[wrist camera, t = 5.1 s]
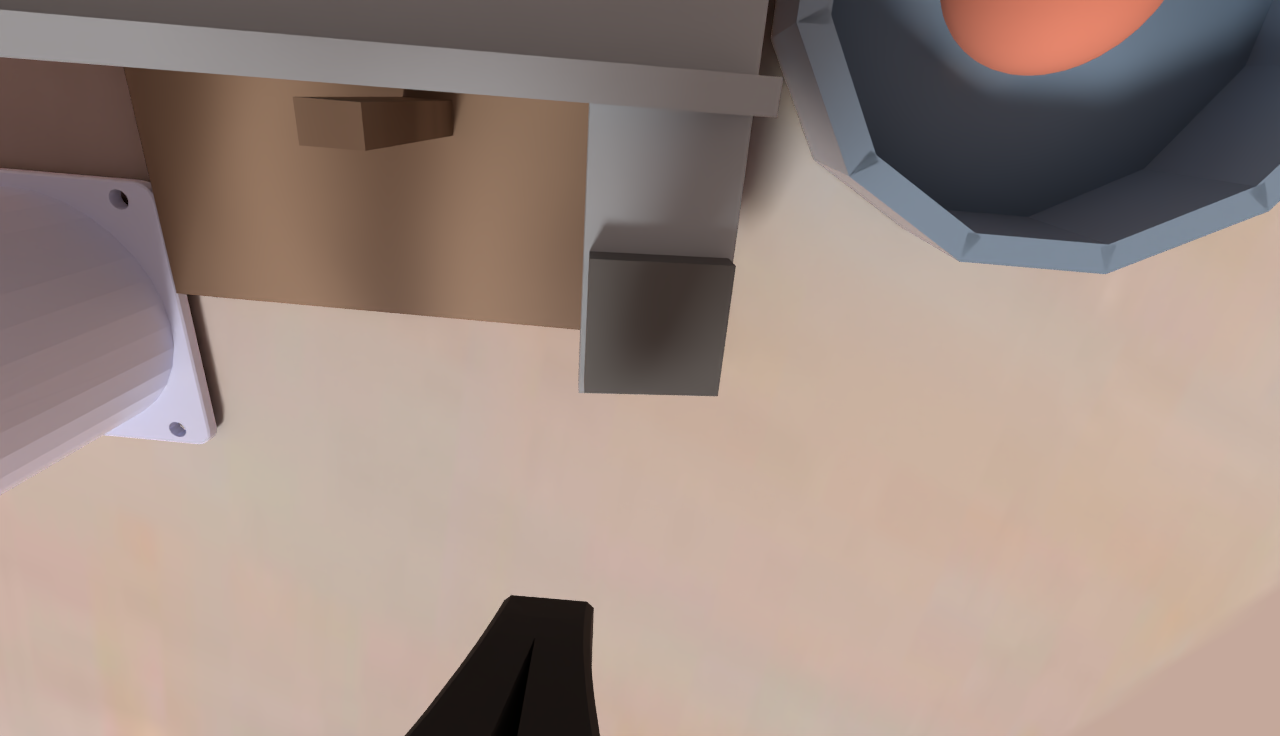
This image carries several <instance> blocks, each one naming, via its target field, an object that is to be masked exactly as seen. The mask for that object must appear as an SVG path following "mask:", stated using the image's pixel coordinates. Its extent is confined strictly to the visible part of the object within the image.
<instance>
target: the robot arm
mask: <svg viewBox="0 0 1280 736" xmlns="http://www.w3.org/2000/svg"><path fill="white" fill-rule="evenodd" d="M121 191H122V192H123V193H124V194H125V195H126V196H127V198H128V205H127V204H126V203H124V202H123V200H122V198H121ZM179 423H180V424H182V425H183V426H184V428H185V429H186V430H184V429H183V428H182V427H181V426H180V424H179ZM216 433H217V426H216V422H215V417H214V413H213V409H212V404H211V400H210V395H209V391H208V387H207V382H206V378H205V373H204V369H203V365H202V360H201V356H200V351H199V347H198V343H197V338H196V334H195V329H194V325H193V321H192V316H191V312H190V307H189V303H188V299H187V294H179V293H176V289H175V285H174V281H173V276H172V272H171V268H170V263H169V259H168V255H167V251H166V246H165V242H164V238H163V233H162V229H161V225H160V221H159V216H158V212H157V208H156V204H155V199H154V195H153V191H152V186H151V182H148V181H144V180H136V179H124V178H113V177H101V176H89V175H78V174H66V173H54V172H43V171H31V170H19V169H8V168H0V495H2V494H3V493H5V492H7V491H9V490H10V489H12V488H14V487H15V486H17V485H19V484H20V483H22V482H24V481H26V480H27V479H29V478H31V477H32V476H34V475H36V474H38V473H39V472H41V471H43V470H44V469H46V468H48V467H49V466H51V465H53V464H55V463H56V462H58V461H60V460H61V459H63V458H65V457H66V456H68V455H70V454H72V453H73V452H75V451H77V450H78V449H80V448H82V447H84V446H85V445H87V444H89V443H90V442H92V441H94V440H95V439H97V438H99V437H101V436H102V435H108V436H118V437H128V438H139V439H149V440H160V441H170V442H181V443H191V444H204V443H206V442H207V441H209V440H210V439H212V438H213V437H214V436H215V434H216ZM593 611H594V608H593V607H592V606H591V605H590V604H589V603H588V602H584V601H572V600H560V599H549V598H537V597H525V596H514V595H511V596H510V597H508V598H507V599H506V600H504V602H503V603H502V605H501V607H500V608H499V610H498V612H497V613H496V615H495V616H494V618H493V619H492V621H491V622H490V624H489V625H488V627H487V628H486V630H485V631H484V633H483V634H482V636H481V637H480V639H479V640H478V642H477V643H476V645H475V646H474V647H473V649H472V650H471V652H470V653H469V654H468V656H467V657H466V658H465V660H464V661H463V663H462V664H461V665H460V667H459V668H458V669H457V671H456V672H455V673H454V675H453V676H452V677H451V679H450V680H449V681H448V682H447V684H446V685H445V686H444V688H443V689H442V690H441V692H440V693H439V694H438V695H437V697H436V698H435V699H434V701H433V702H432V703H431V705H430V706H429V707H428V708H427V710H426V711H425V712H424V713H423V715H422V716H421V717H420V718H419V720H418V721H417V722H416V723H415V724H414V726H413V727H412V728H411V729H410V730H409V731H408V733H407V734H406V735H405V736H600V733H599V727H598V720H597V713H596V706H595V699H594V691H593V681H592V639H593Z"/></svg>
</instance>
